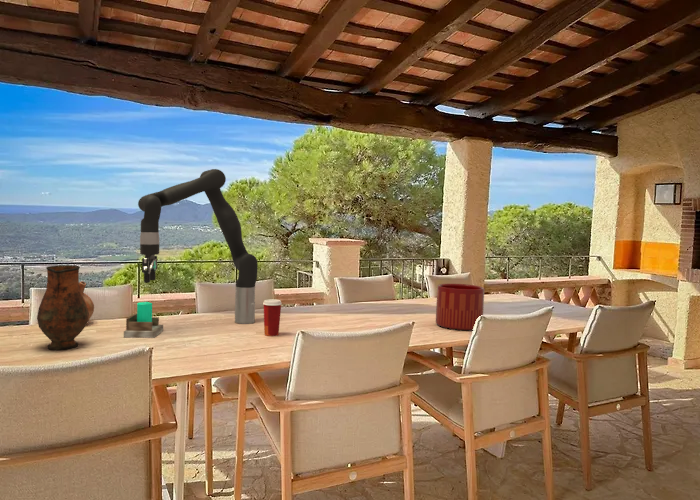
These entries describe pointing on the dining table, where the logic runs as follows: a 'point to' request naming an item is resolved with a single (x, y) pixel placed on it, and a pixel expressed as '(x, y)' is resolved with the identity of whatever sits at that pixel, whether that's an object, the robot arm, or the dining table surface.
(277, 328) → the coffee cup
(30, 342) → the dining table surface
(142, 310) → the candle
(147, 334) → the dock
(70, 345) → the pitcher
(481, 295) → the planter
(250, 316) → the robot arm
